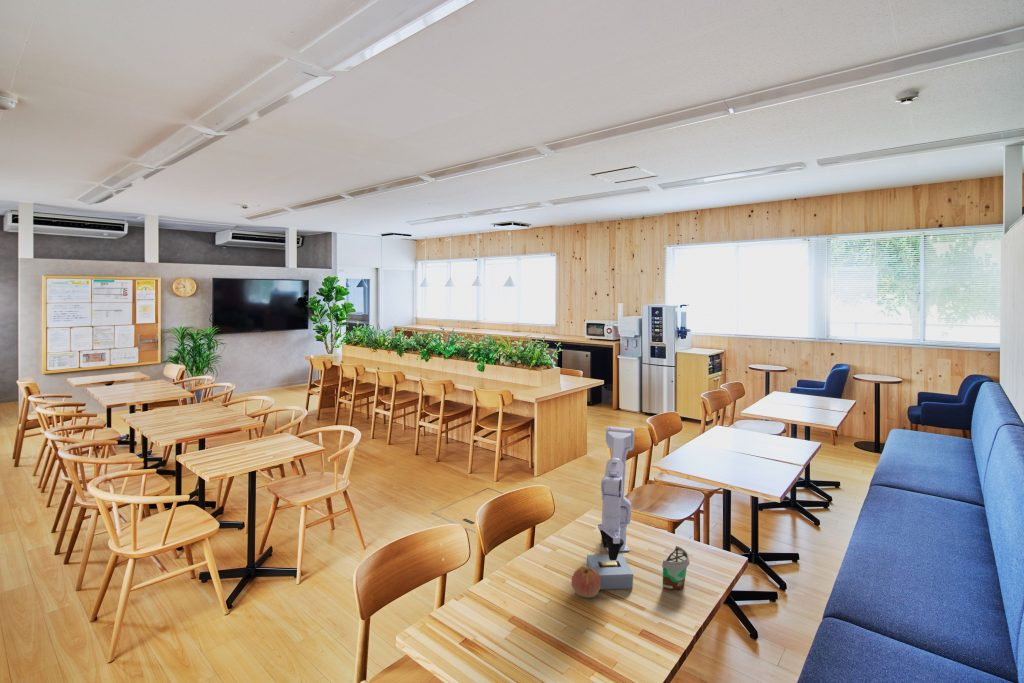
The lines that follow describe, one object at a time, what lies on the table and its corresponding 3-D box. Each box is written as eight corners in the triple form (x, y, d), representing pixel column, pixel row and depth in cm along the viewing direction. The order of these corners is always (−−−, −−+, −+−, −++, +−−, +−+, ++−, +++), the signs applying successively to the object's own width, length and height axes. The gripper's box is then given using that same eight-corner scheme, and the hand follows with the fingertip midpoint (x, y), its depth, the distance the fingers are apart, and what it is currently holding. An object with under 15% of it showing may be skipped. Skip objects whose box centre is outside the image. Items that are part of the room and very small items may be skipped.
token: (600, 575, 169) (600, 561, 169) (615, 575, 170) (615, 561, 169) (601, 579, 167) (602, 564, 167) (617, 578, 168) (617, 564, 167)
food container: (680, 598, 158) (682, 567, 157) (660, 590, 162) (662, 560, 161) (693, 580, 168) (695, 551, 167) (674, 573, 172) (676, 544, 171)
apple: (599, 604, 154) (600, 579, 154) (570, 600, 156) (570, 575, 155) (600, 587, 163) (601, 564, 162) (572, 584, 165) (573, 560, 164)
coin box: (586, 568, 174) (586, 554, 173) (621, 567, 175) (622, 553, 174) (595, 590, 162) (595, 575, 161) (632, 588, 163) (633, 574, 162)
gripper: (593, 503, 173) (592, 542, 174) (604, 524, 158) (603, 566, 160) (614, 503, 173) (612, 541, 175) (627, 523, 159) (625, 565, 160)
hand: (609, 553), depth 167 cm, fingers open, 7 cm apart
